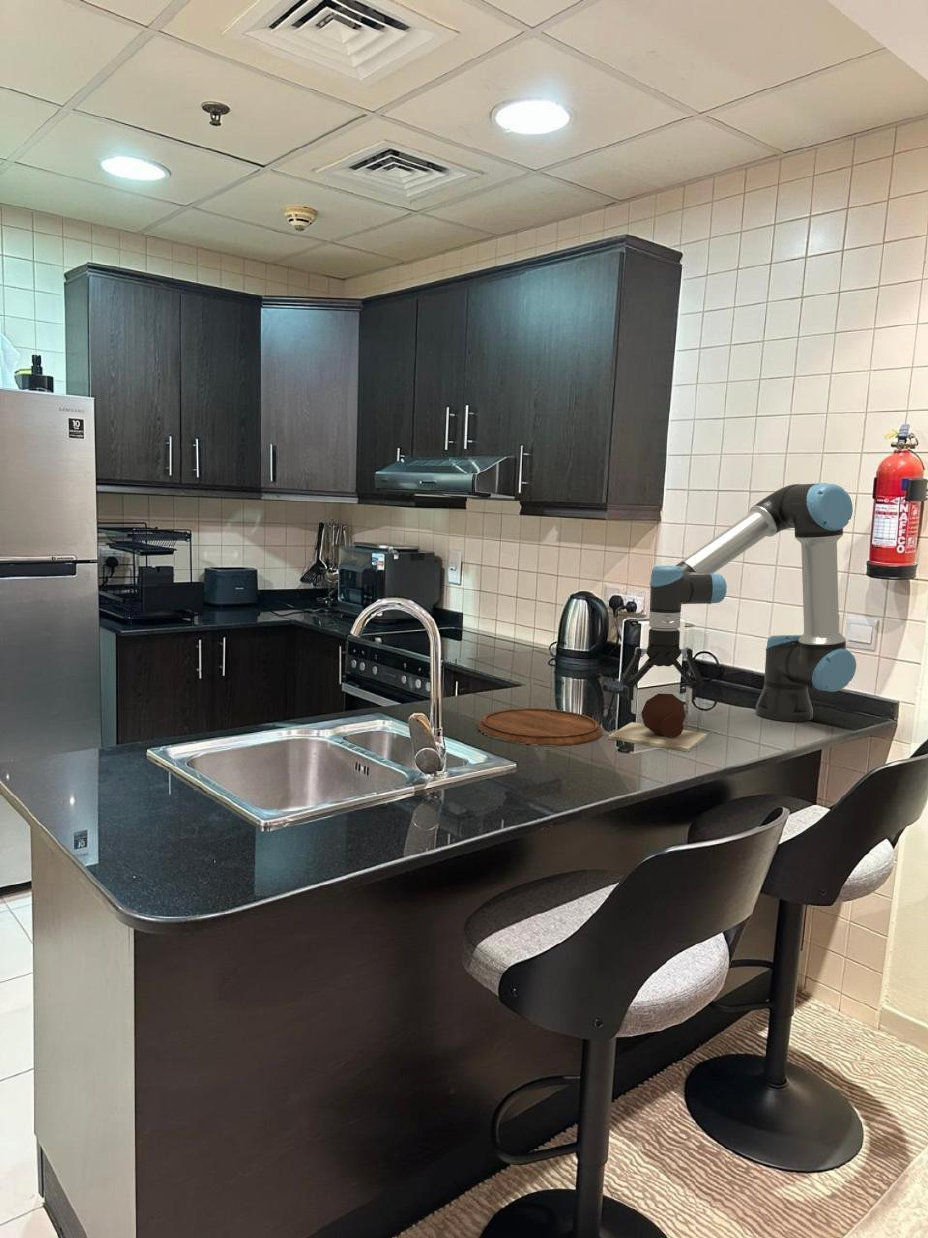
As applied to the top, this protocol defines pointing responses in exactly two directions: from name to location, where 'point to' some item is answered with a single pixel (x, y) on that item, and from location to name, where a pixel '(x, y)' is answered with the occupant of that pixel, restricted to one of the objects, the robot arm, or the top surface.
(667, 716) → the chocolate ice cream sundae
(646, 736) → the birch pad
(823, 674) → the robot arm
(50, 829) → the top surface
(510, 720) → the cutting board
